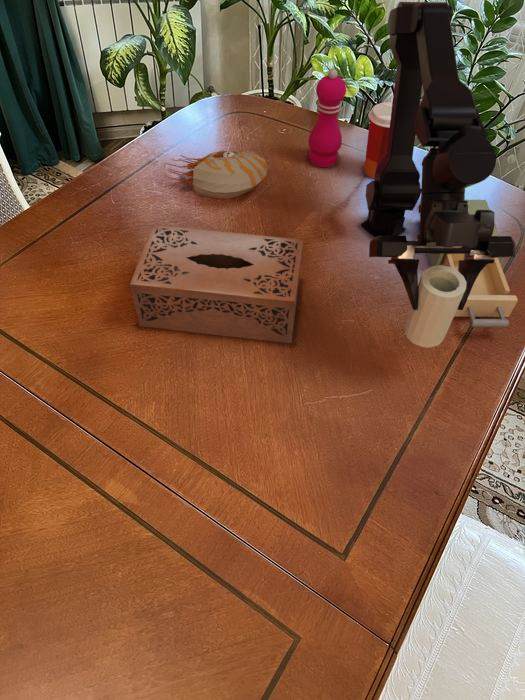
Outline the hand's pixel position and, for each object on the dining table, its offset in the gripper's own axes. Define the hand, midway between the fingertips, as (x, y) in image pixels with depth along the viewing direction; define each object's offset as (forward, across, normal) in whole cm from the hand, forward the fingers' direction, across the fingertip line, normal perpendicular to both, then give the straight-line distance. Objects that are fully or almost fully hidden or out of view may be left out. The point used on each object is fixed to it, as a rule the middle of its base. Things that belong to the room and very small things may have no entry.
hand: (437, 309), depth 80 cm
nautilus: (-23, -34, +45) cm, 61 cm away
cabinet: (-10, +13, +31) cm, 35 cm away
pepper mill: (-30, -10, +52) cm, 61 cm away
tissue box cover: (0, -31, +21) cm, 38 cm away
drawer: (-1, +13, +21) cm, 25 cm away
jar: (+4, 0, +6) cm, 7 cm away
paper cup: (-27, +1, +49) cm, 56 cm away
